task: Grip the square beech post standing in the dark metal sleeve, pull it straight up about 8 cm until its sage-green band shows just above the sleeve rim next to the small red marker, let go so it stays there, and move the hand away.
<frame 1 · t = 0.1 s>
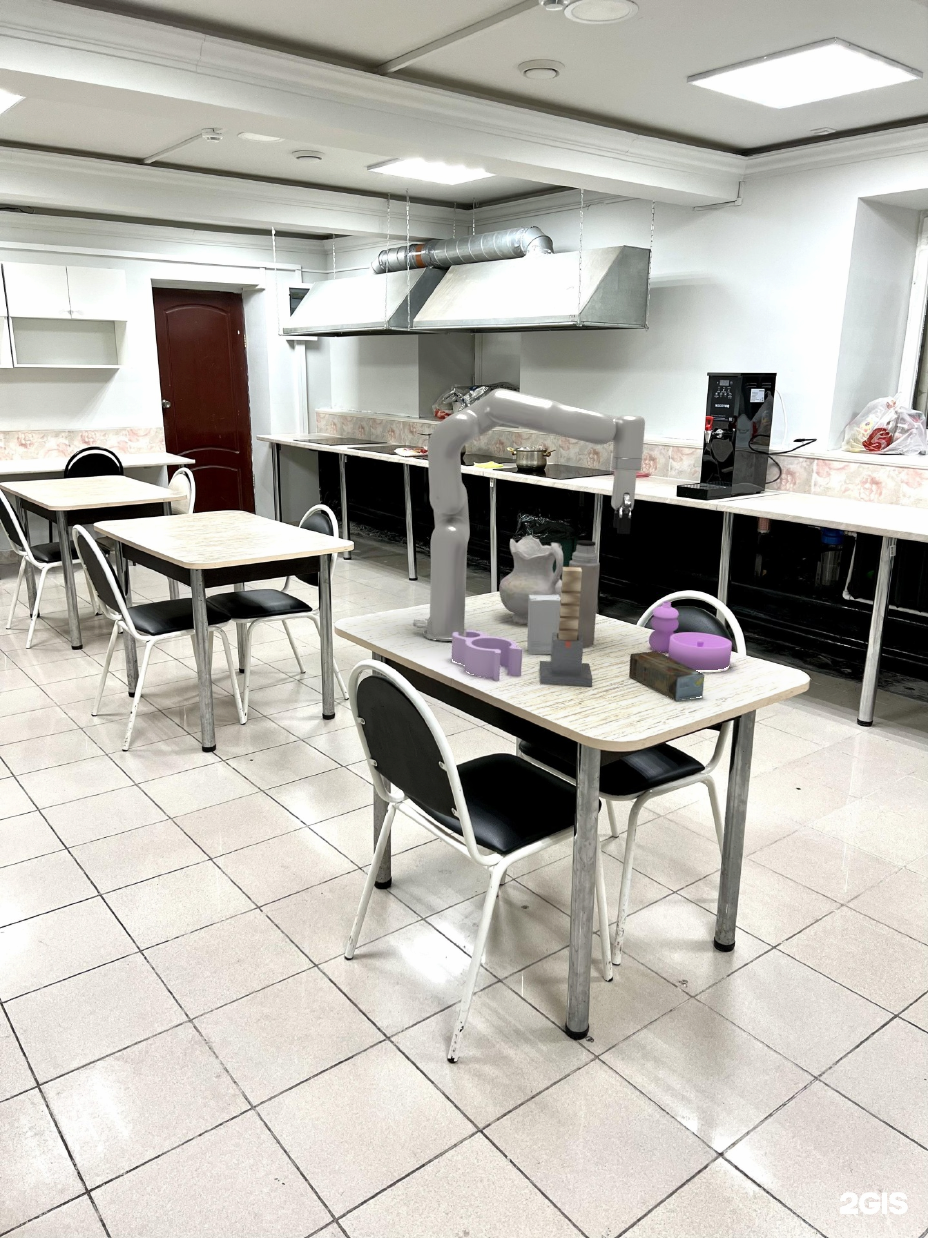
hand: (621, 530, 238), 31 cm above the table, tool pointing down, fingers open, 9 cm apart
thermos bottle: (578, 644, 247), on the table
skincare box: (542, 652, 238), on the table
post: (568, 619, 213), point 14 cm above the table, slide at 0.0 cm
sleeve base: (564, 677, 217), on the table
beverage carton: (664, 688, 213), on the table
container set: (684, 659, 237), on the table
clip: (483, 668, 223), on the table
ceramic pitcher: (533, 621, 269), on the table
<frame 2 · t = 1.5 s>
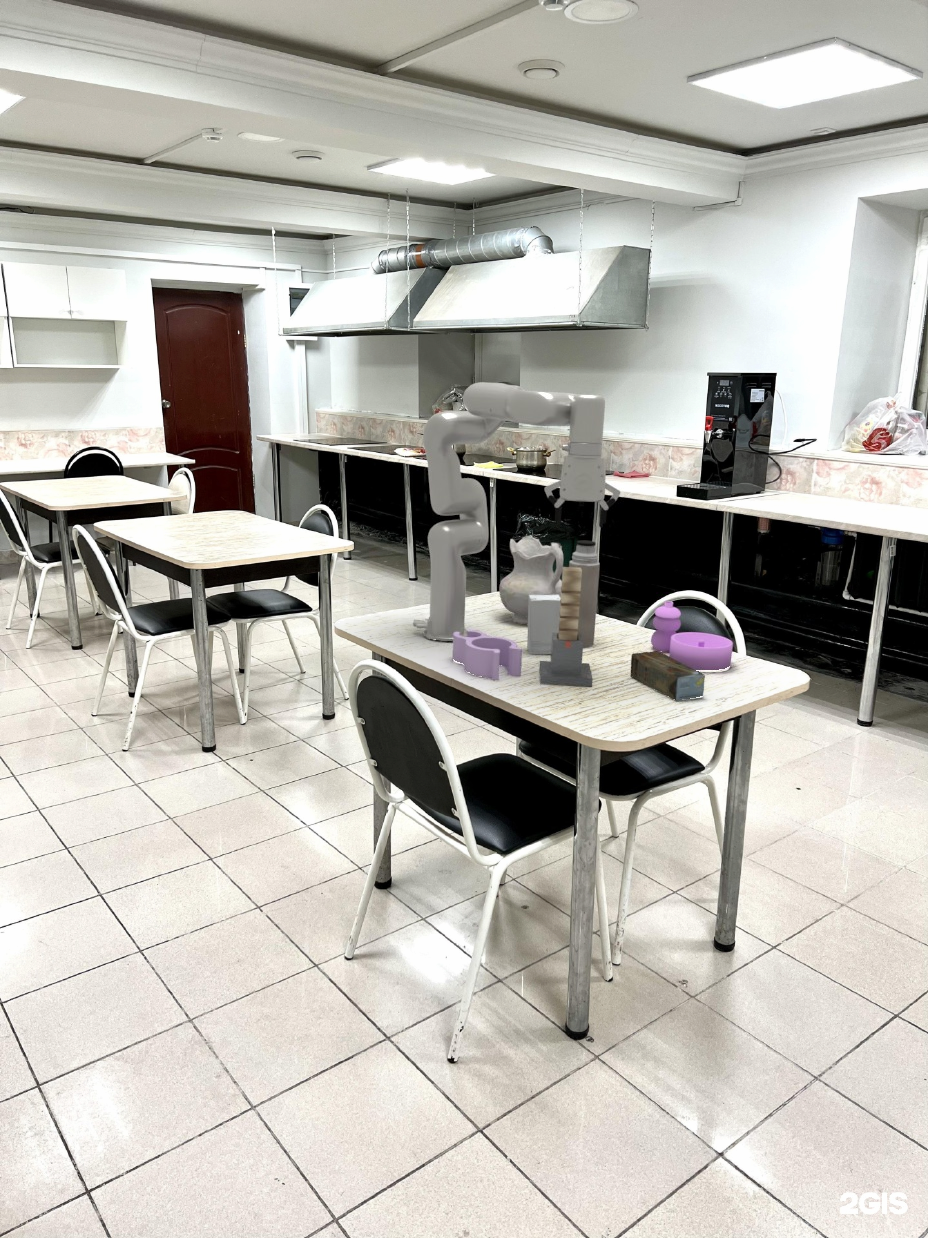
hand: (579, 525, 211), 36 cm above the table, tool pointing down, fingers open, 9 cm apart
nothing on the table moved.
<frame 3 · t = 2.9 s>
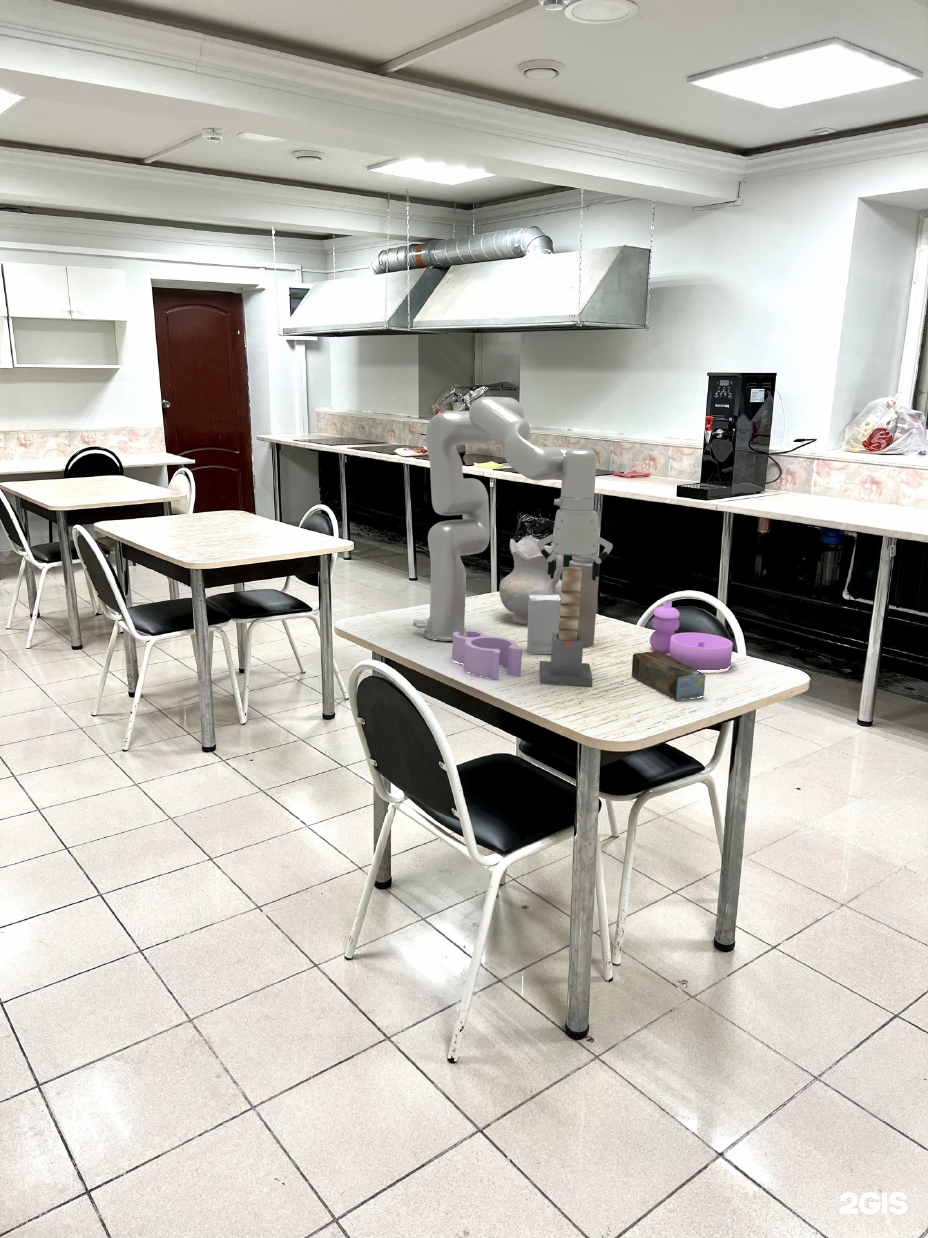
hand: (572, 578, 211), 24 cm above the table, tool pointing down, fingers open, 9 cm apart
nothing on the table moved.
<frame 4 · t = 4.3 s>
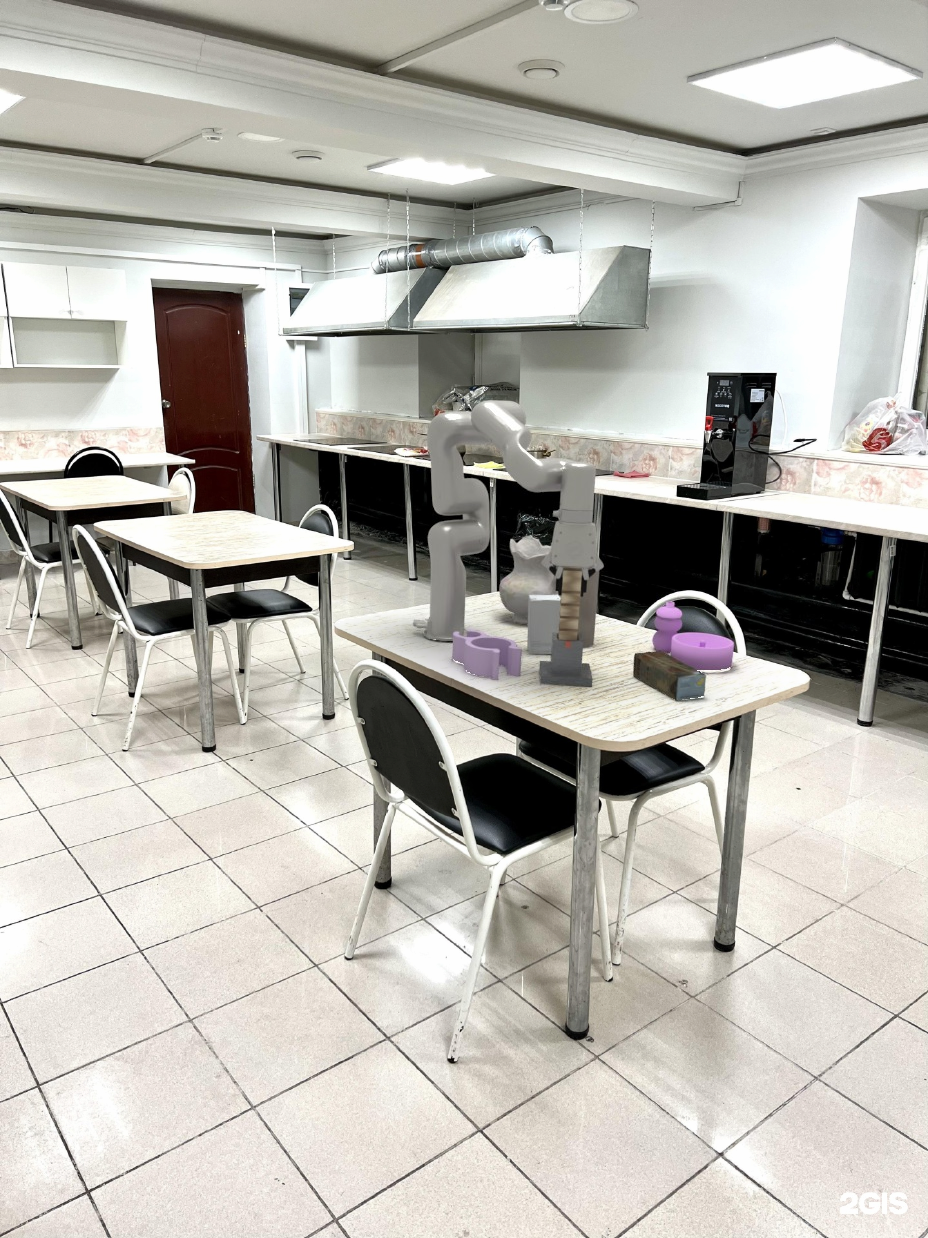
hand: (570, 594, 212), 20 cm above the table, tool pointing down, fingers closed on post, 4 cm apart
post: (568, 619, 213), point 14 cm above the table, slide at 0.0 cm, touching gripper
everything else where it was.
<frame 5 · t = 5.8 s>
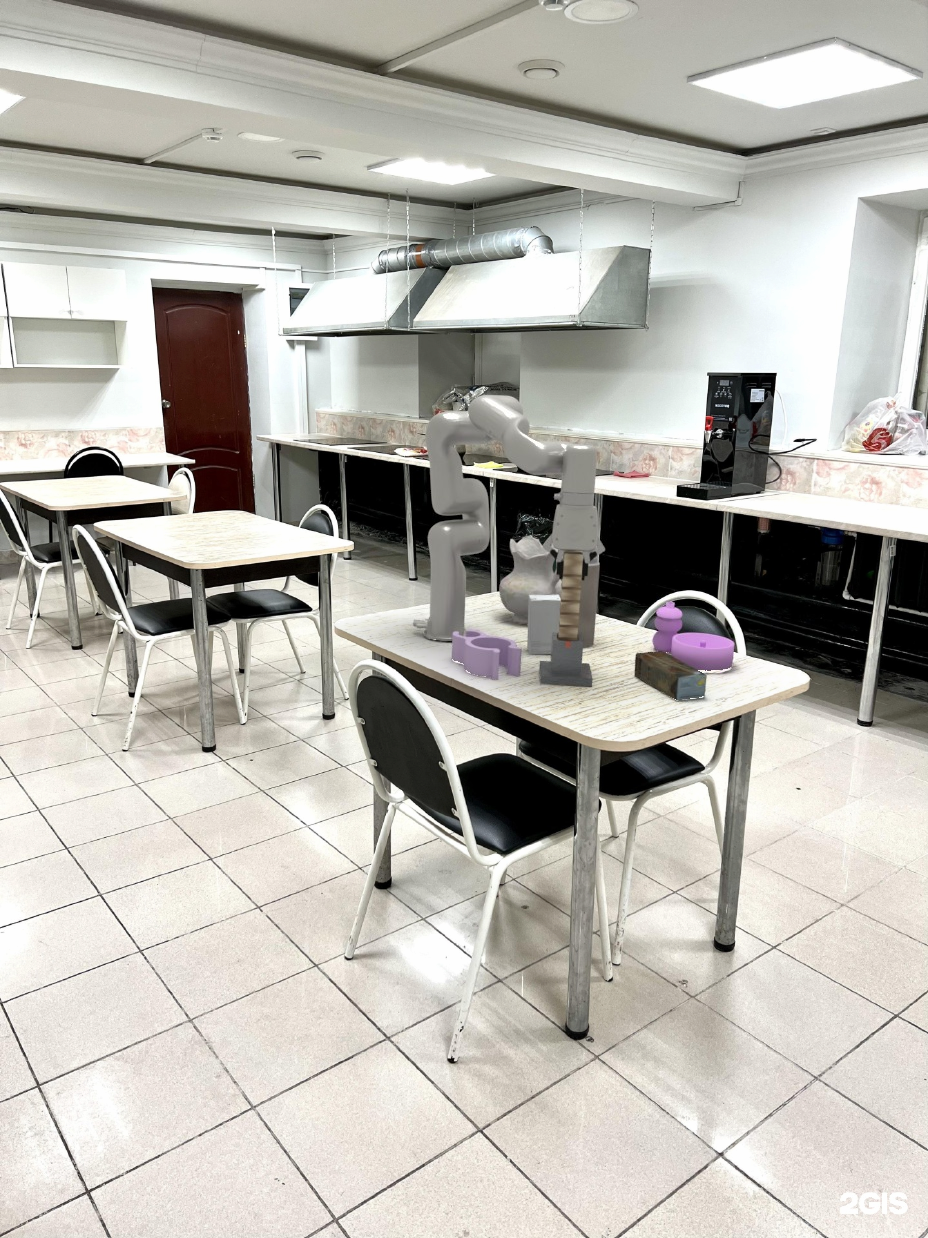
hand: (571, 577, 211), 24 cm above the table, tool pointing down, fingers closed on post, 4 cm apart
post: (569, 603, 213), point 18 cm above the table, slide at 3.9 cm, touching gripper
everything else where it was.
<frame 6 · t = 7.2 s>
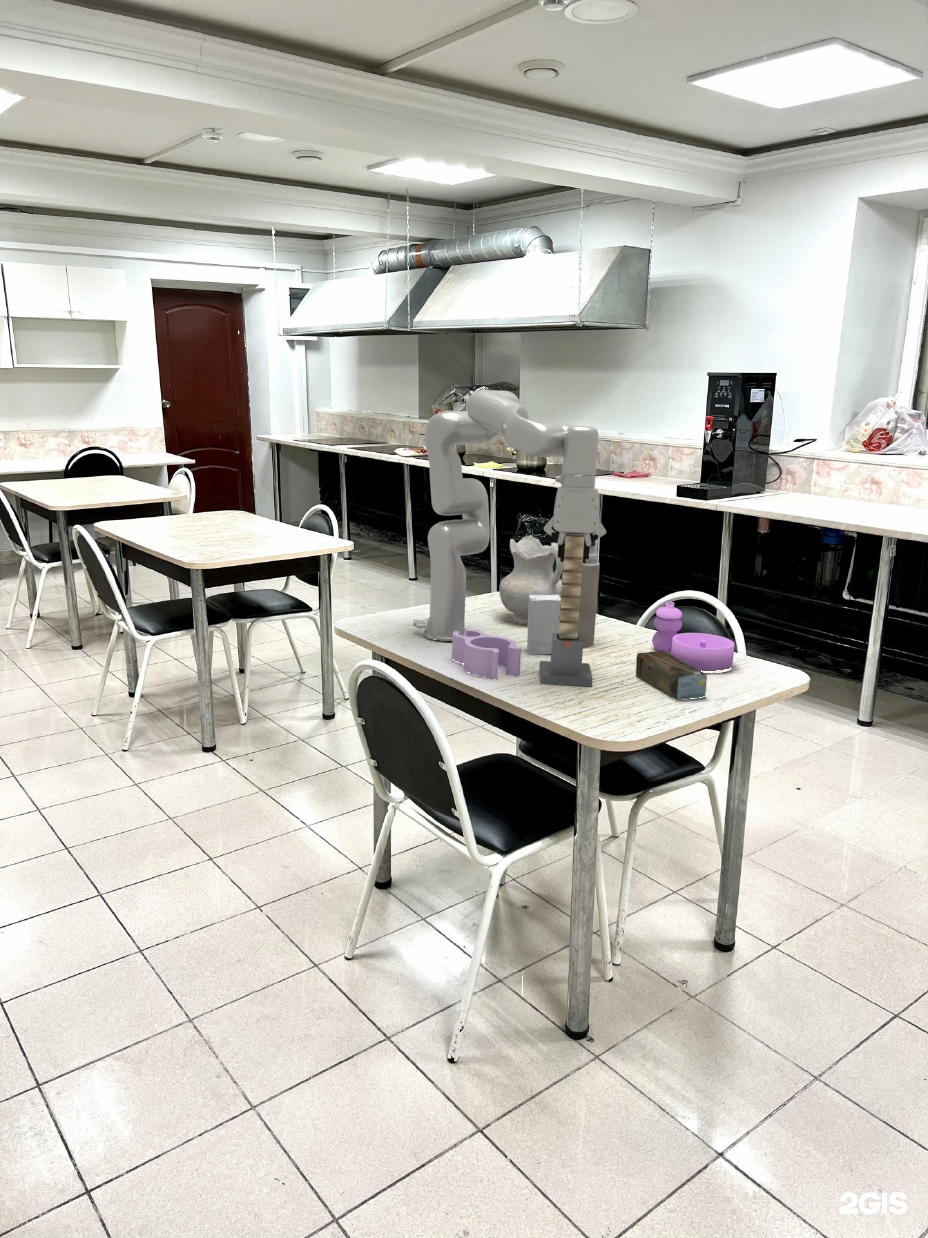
hand: (572, 560, 210), 28 cm above the table, tool pointing down, fingers closed on post, 4 cm apart
post: (571, 586, 212), point 22 cm above the table, slide at 7.9 cm, touching gripper
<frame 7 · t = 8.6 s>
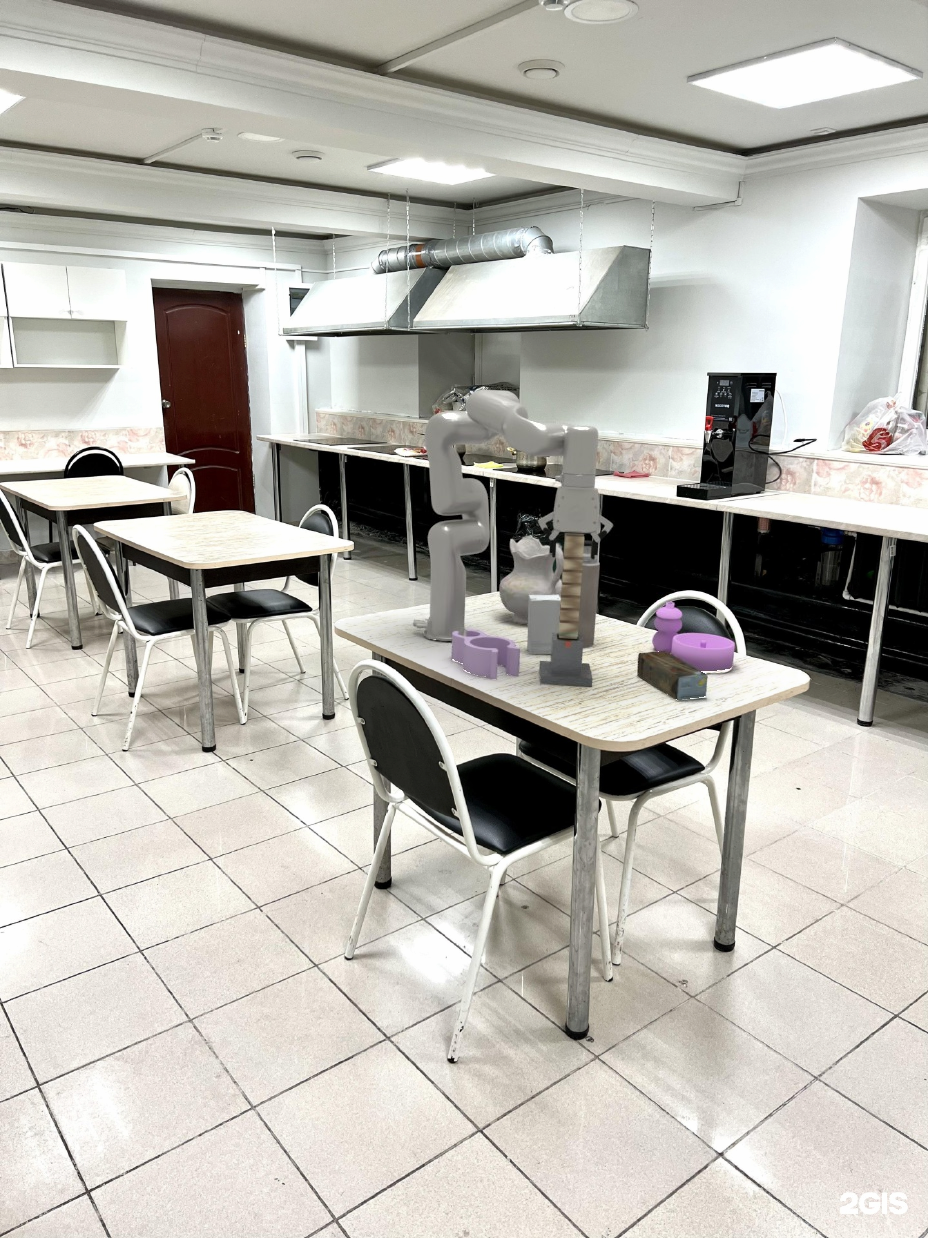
hand: (573, 557, 210), 29 cm above the table, tool pointing down, fingers open, 8 cm apart
post: (571, 586, 212), point 22 cm above the table, slide at 7.9 cm
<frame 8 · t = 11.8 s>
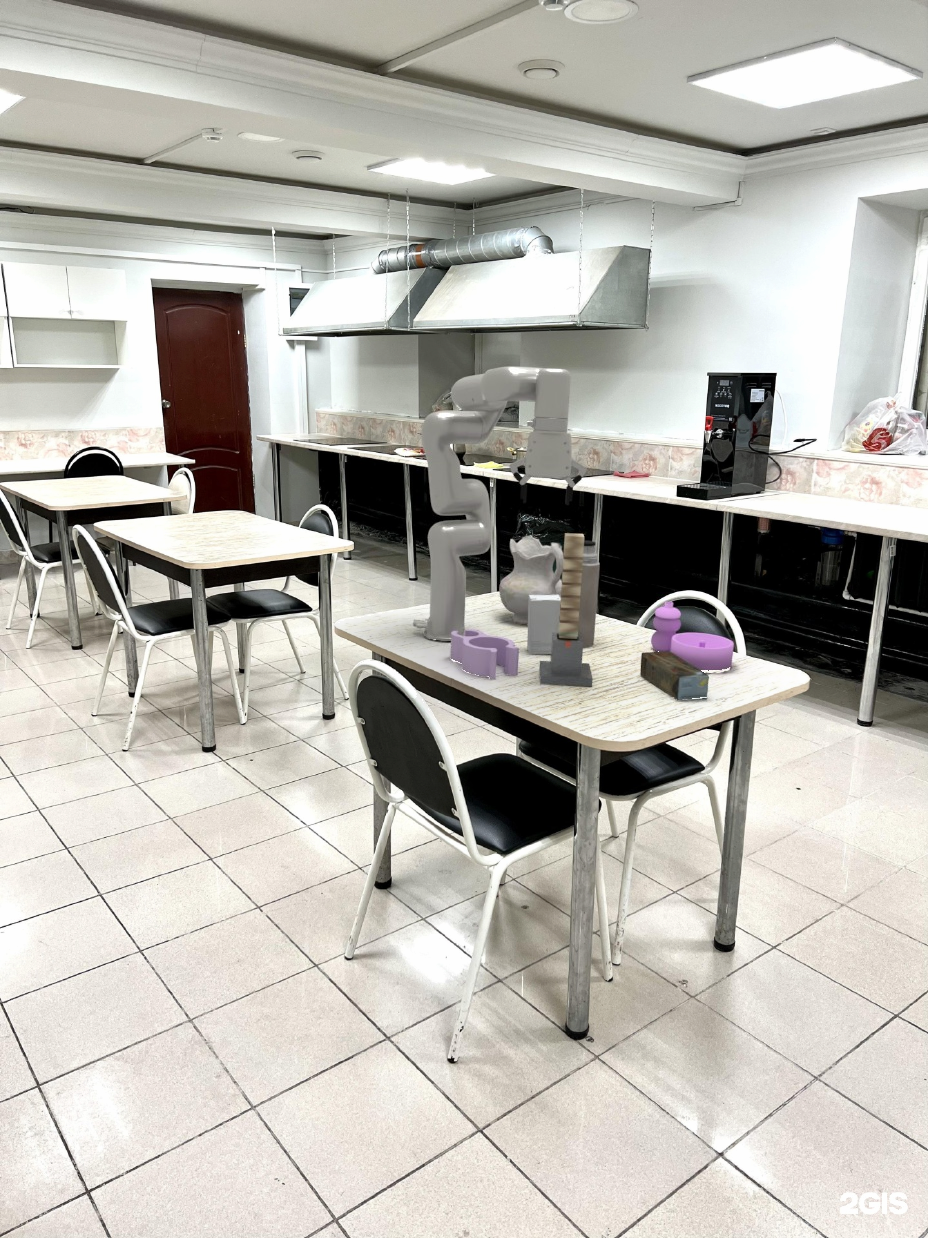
hand: (545, 503, 206), 41 cm above the table, tool pointing down, fingers open, 9 cm apart
at the end: post slide at 7.9 cm; the gripper is holding nothing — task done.
